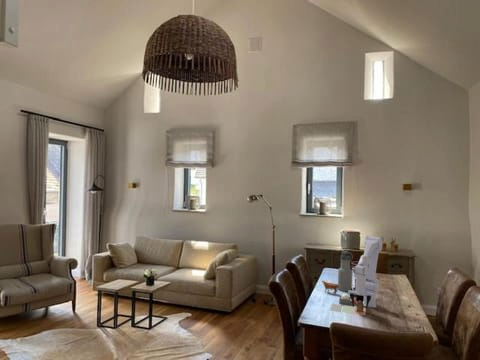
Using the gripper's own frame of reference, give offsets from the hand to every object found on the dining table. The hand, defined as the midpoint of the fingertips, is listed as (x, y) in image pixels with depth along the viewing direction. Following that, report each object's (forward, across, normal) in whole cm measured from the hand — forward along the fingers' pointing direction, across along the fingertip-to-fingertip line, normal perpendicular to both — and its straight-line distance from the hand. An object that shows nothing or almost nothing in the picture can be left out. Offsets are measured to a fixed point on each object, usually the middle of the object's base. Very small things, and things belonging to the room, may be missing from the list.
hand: (360, 307), depth 224 cm
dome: (+2, -10, +12) cm, 15 cm away
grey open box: (+3, -8, +12) cm, 14 cm away
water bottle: (+3, -12, +44) cm, 45 cm away
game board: (+3, -7, 0) cm, 7 cm away
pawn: (+2, 0, 0) cm, 2 cm away
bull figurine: (+3, -22, +32) cm, 38 cm away
